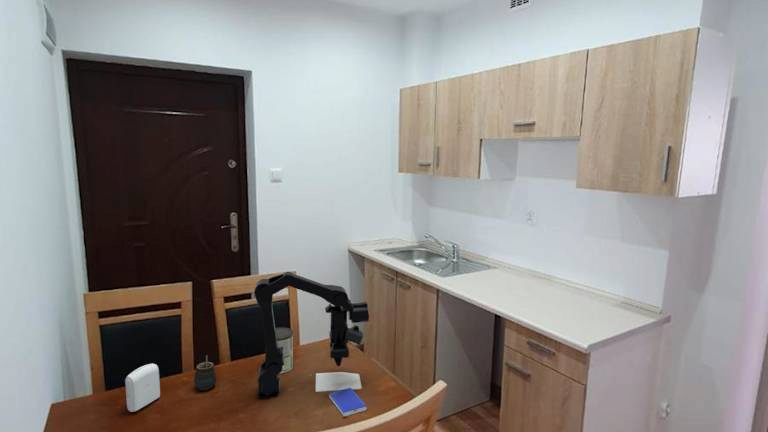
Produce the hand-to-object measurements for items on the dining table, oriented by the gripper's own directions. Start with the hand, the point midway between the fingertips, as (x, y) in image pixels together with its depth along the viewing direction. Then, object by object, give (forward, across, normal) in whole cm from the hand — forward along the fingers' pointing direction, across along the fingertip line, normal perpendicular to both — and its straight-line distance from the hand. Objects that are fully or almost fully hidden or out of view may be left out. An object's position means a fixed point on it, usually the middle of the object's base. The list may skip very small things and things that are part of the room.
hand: (338, 365), depth 147 cm
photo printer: (+8, -4, +63) cm, 64 cm away
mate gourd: (+8, +5, +46) cm, 47 cm away
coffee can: (+8, +16, +22) cm, 29 cm away
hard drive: (+7, -6, 0) cm, 9 cm away
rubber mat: (+8, +3, 0) cm, 8 cm away
